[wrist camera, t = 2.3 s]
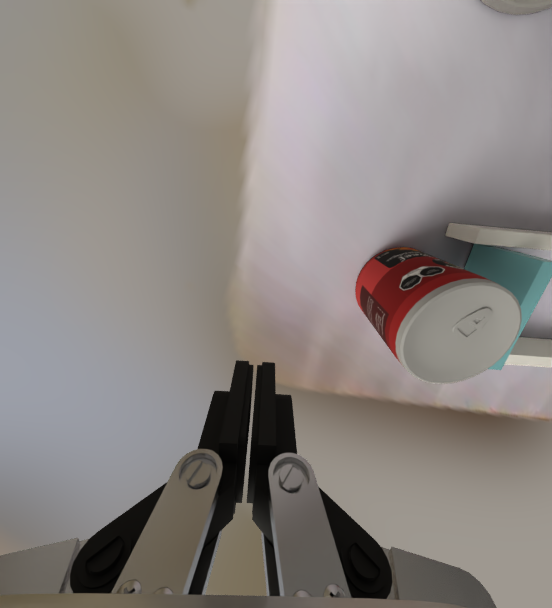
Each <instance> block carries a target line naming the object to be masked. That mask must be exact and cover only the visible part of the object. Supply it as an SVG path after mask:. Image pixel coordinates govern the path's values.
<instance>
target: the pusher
mask: <svg viewBox="0 0 552 608" xmlns="http://www.w3.org/2000/svg"><path fill="white" fill-rule="evenodd" d="M464 269H465V270H468V271H470V272H472V273H475V274H477V275H480V276H482V277H485V278H487V279H489V280H491V281H493V282H496V283H498V284H499V285H501V286H502V287H504V288H506V289H507V290H509V291H510V292H512V293H513V295H514V296H515V297H516V299H517V300H518V302H519V305H520V307H521V314H522V321H521V326H520V330H519V333H518V335H517V337H516V339H515V341H514V343H513V344H512V346H511V347H510V349H509V350H508V351H507V352H506V353H505V355H504V356H503V357H502V358H501V359H500V360H498V361H497V362H496V363H495V364H494V365H493V366H491V367H490V368H488V369H496V370H501V369H502V367H503V366H504V364H505V362H506V360H507V358H508V356H509V355H510V353H511V351H512V349H513V347H514V345H515V343H516V342H517V340H518V338H519V336H520V334H521V332H522V331H523V329H524V327H525V325H526V323H527V321H528V320H529V318H530V316H531V314H532V312H533V310H534V309H535V307H536V305H537V303H538V301H539V299H540V297H541V296H542V294H543V292H544V290H545V288H546V286H547V285H548V283H549V281H550V279H551V277H552V261H551V260H547V259H543V258H539V257H535V256H531V255H527V254H523V253H519V252H515V251H511V250H507V249H504V248H500V247H496V246H492V245H485V244H474V245H473V248H472V250H471V253H470V255H469V258H468V261H467V263H466V266H465V268H464Z"/></svg>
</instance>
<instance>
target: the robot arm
mask: <svg viewBox="0 0 552 608" xmlns="http://www.w3.org/2000/svg"><path fill="white" fill-rule="evenodd" d="M481 1H482V2H483V3H484V4H485V5H487V6H489V7H491V8H493V9H495V10H497V11H498V12H503V13H508V14H513V15H520V14H532V13H535V12H538V11H542V10H545V9H548V8H550V7H552V0H481ZM252 380H253V365H249V361H236V364H235V369H234V374H233V378H232V383H231V388H230V392H228V391H215V392H214V394H213V397H212V401H211V404H210V408H209V411H208V415H207V418H206V422H205V425H204V429H203V432H202V435H201V439H200V443H199V446H198V449H197V450H193V451H191V452H189V453H187V454H186V455H185V456H184V457H182V458H181V459H180V461H179V462H178V464H177V465H176V467H175V469H174V471H173V473H172V474H171V476H170V479H169V480H168V482H167V483H165V484H164V485H163V486H161V487H160V488H158V489H157V490H156V491H154V492H153V493H151V494H150V495H149V496H147V497H146V498H144V499H143V500H142V501H140V502H139V503H137V504H136V505H135V506H133V507H132V508H130V509H129V510H128V511H126V512H125V513H123V514H122V515H121V516H119V517H118V518H116V519H115V520H114V521H112V522H111V523H109V524H108V525H107V526H105V527H104V528H102V529H101V530H100V531H98V532H97V533H96V534H95V535H94V536H92V537H91V538H90V539H87V540H83V541H79V539H78V538H75V539H70V540H66V541H62V542H57V543H53V544H49V545H44V546H40V547H35V548H31V549H27V550H22V551H18V552H14V553H9V554H5V555H1V556H0V608H496V606H495V604H494V602H493V600H492V598H491V596H490V594H489V593H488V592H487V590H486V589H485V588H484V587H483V585H482V584H481V583H480V582H479V581H478V580H477V579H476V578H475V577H473V576H472V575H471V574H470V573H468V572H466V571H464V570H462V569H460V568H457V567H454V566H451V565H448V564H445V563H442V562H438V561H436V560H432V559H429V558H426V557H423V556H420V555H416V554H413V553H410V552H407V551H404V550H401V549H398V548H394V547H391V549H390V550H389V549H386V548H383V547H380V545H379V544H378V543H377V542H376V541H375V540H374V539H373V538H372V537H371V536H370V535H369V534H368V533H367V532H366V531H365V530H364V529H363V528H362V527H361V526H360V525H358V524H357V523H356V522H355V521H354V520H353V519H352V518H351V517H350V516H349V515H348V514H347V513H346V512H345V511H344V510H342V509H341V508H340V507H339V506H338V505H337V504H336V503H335V502H334V501H333V500H332V499H331V498H330V497H329V496H328V495H327V494H326V493H324V492H323V491H322V490H321V489H320V488H319V487H318V484H317V481H316V478H315V474H314V471H313V469H312V467H311V465H310V464H309V463H308V461H307V460H306V459H304V458H303V457H302V456H300V455H298V454H297V449H296V439H295V428H294V418H293V408H292V398H291V395H281V394H275V363H269V362H262V365H257V376H256V390H255V401H254V413H253V425H252V426H253V427H252V438H251V451H250V465H249V479H248V494H247V503H253V511H252V514H253V518H252V520H253V521H254V522H255V523H256V525H257V526H258V527H259V529H260V530H261V531H262V547H263V557H264V569H265V579H266V590H267V596H234V595H205V593H206V589H207V585H208V582H209V578H210V574H211V571H212V567H213V563H214V560H215V556H216V552H217V549H218V545H219V541H220V538H221V532H222V529H223V528H224V527H225V526H226V525H227V524H228V523H229V522H230V521H231V520H232V519H233V513H235V505H236V503H242V495H243V486H244V475H245V464H246V454H247V444H248V433H249V423H250V410H251V395H252Z"/></svg>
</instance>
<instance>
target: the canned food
mask: <svg viewBox="0 0 552 608" xmlns="http://www.w3.org/2000/svg"><path fill="white" fill-rule="evenodd" d="M356 299H357V302H358V305H359V307H360V308H361V310H362V311H363V312H364V314H365V315H366V317H367V318H368V319H369V321H370V322H371V324H372V325H373V326H374V328H375V329H376V330H377V332H378V333H379V335H380V336H381V337H382V339H383V340H384V342H385V343H386V344H387V346H388V347H389V349H390V350H391V351H392V353H393V354H394V355H395V357H396V358H397V359H398V360H399V362H400V363H401V365H402V366H403V367H404V368H405V369H406V370H407V371H408V372H409V373H410V374H411V375H412V376H414V377H415V378H417V379H419V380H421V381H424V382H428V383H434V384H450V383H455V382H460V381H463V380H466V379H469V378H472V377H474V376H476V375H478V374H480V373H482V372H484V371H485V370H487V369H488V368H490V367H491V366H493V365H494V364H495V363H496V362H497V361H498V360H500V359H501V358H502V357H503V356H504V355H505V353H506V352H507V351H508V350H509V349H510V347H511V346H512V344H513V343H514V341H515V339H516V337H517V335H518V333H519V330H520V326H521V321H522V314H521V307H520V305H519V302H518V300H517V299H516V297H515V296H514V295H513V293H512V292H510V291H509V290H507V289H506V288H504V287H502V286H501V285H499V284H498V283H496V282H493V281H491V280H489V279H487V278H485V277H482V276H480V275H477V274H475V273H472V272H470V271H468V270H465V269H463V268H460V267H458V266H455V265H453V264H450V263H448V262H446V261H443V260H441V259H438V258H436V257H433V256H431V255H428V254H426V253H424V252H421V251H419V250H416V249H413V248H407V247H400V248H393V249H389V250H385V251H383V252H381V253H379V254H377V255H376V256H374V257H373V258H371V259H370V260H369V261H368V262H367V263H366V264H365V266H364V267H363V268H362V270H361V272H360V274H359V276H358V279H357V282H356Z"/></svg>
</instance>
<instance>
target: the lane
mask: <svg viewBox="0 0 552 608" xmlns="http://www.w3.org/2000/svg"><path fill="white" fill-rule="evenodd" d="M445 236H448V237H452V238H455V239H459V240H463V241H467V242H470V243H474V244H485V245H496V246H507V247H518V248H529V249H541V250H552V232H543V231H532V230H521V229H510V228H499V227H489V226H478V225H467V224H456V223H449V226H448V229H447V232H446V234H445ZM505 364H507V365H521V366H536V367H551V368H552V339H540V338H526V337H519V338H518V340H517V342H516V343H515V345H514V347H513V349H512V351H511V353H510V355H509V356H508V358H507V360H506V362H505Z"/></svg>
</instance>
